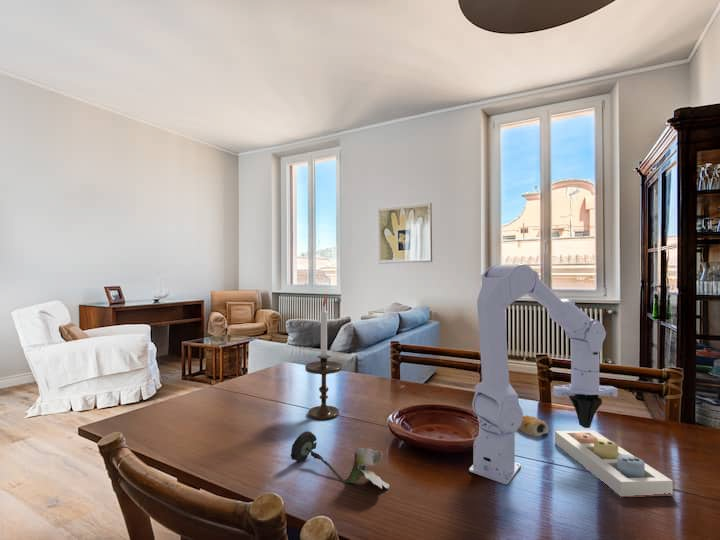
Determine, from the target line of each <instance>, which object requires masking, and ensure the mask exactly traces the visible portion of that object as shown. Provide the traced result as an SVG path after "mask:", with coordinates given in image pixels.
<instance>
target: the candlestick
mask: <svg viewBox="0 0 720 540" xmlns="http://www.w3.org/2000/svg"><path fill="white" fill-rule="evenodd" d="M327 299H328V298H327V296H325V298H324V300H323V303H322V310H321V311H320V355H317V357H316V358H318V359H320V361H312V362H309V363H307V364H305V372H307V373H309V374H315V375H321V386H320V387H318V390H319V393H321V394H320V396H319V399H320V400H321V404H320V405H317V406H314V407H312V408H310V409H309V410H308V417H309V418H310V419H312V420H314V421H315V420H316V421H330V420H333V419H336V418H338V417H339V415H340V409H339V408H337V407H336V406H331V405H327V399H328V397H329V396H328V395H327V393H328V392H329V387H328V386H327V375H329V374H336V373H339V372H341V371H343V364H342V363H340V362H336V361H332V360H328V358H331V355H328V311H327V310H326V303H327Z"/></svg>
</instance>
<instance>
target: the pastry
mask: <svg viewBox="0 0 720 540" xmlns="http://www.w3.org/2000/svg"><path fill="white" fill-rule="evenodd" d="M517 431H520V432H522V433H524V434H525V435H528V436H530V437H540V436H542V435H545V434H547V433H548V432H549V426H548V424H547V422H546V421H544V420H540V419H539V418H537V417H535V416H529V415H523V421H522V424H521V426H520V427H519V428H518V429H517Z"/></svg>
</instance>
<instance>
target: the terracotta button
mask: <svg viewBox="0 0 720 540" xmlns="http://www.w3.org/2000/svg"><path fill="white" fill-rule="evenodd" d="M574 439H575V440H577V441H578V442H579V443H581V444H594V440H595V439H596V438H595V437H593V436H592V435H589V434H585V433H575V434H574Z"/></svg>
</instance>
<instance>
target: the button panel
mask: <svg viewBox="0 0 720 540" xmlns="http://www.w3.org/2000/svg"><path fill="white" fill-rule="evenodd" d="M575 433H585V434H589V435H592V436H593V437H595V438H596V439H605V440H609V441H611V440H610V439H609V438H607V437H606V436H604V435H602V434H600V432H597V431H596V430H555V431H554V444H555V445H556V446H558V448H560V449H561V450H562V449H563V450H562V451H564V452H565V453H566V452H567V453H568V454H567V453H566V454H567V455H569V456H570V455H571V456H572V457H573V458H574V461H576V460H577V461H578V462H579V463H580V464H579V463H578V462H577V461H576V462H577V463H578V464H579V465H581V464H582V465H583V466H584V467H585V468H587V469H588V470H589V471H590V472H592V473H591V474H592V475H593V474H594V475H595V476H596V477H597V479H598V478H599V479H600V480H601V481H603V482H604V483H605V484H607V485H608V486H609V487H610V488H612V489H613V490H614V491H615V492H616V493H618V494H619V495H620V496H634V495H653V494H664V493H666V494H668V493H671V494H673V492H674V491H673V488H674V487H673V484H674V483H673V480H672V479H670V478H669V477H667V476H666V475H665V474H663V473H661V472H660V471H658V470H656V469H655V468H653V467H652V466H650V465H649V464H647V463H645V462H644V463H645V478H627V477H625V476H624V475H623V474H621V473H620V472H619V471H617V459H601V458H600V457H598V456H597V455H596V454H594V444H581V443H579V442H578V441H577V440H575V439H574V434H575ZM621 454H625V455H631V456H634V455H633V454H631V452H628V451H627V450H626V449H624V448H622V447H620V446H619V445H618V455H621ZM571 456H570V457H571ZM572 457H571V458H572ZM634 457H636V456H634ZM573 458H572V459H573ZM582 465H581V466H582ZM583 466H582V467H583ZM584 467H583V468H584ZM585 468H584V469H585ZM587 469H586V470H587ZM588 470H587V471H588ZM589 471H588V472H589ZM590 472H589V473H590ZM594 475H593V476H594ZM595 476H594V477H595ZM596 477H595V478H596ZM599 479H598V480H599ZM600 480H599V481H600ZM601 481H600V482H601ZM604 483H603V484H604ZM605 484H604V485H605ZM610 488H609V489H610ZM615 492H614V493H615ZM616 493H615V494H616Z"/></svg>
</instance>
